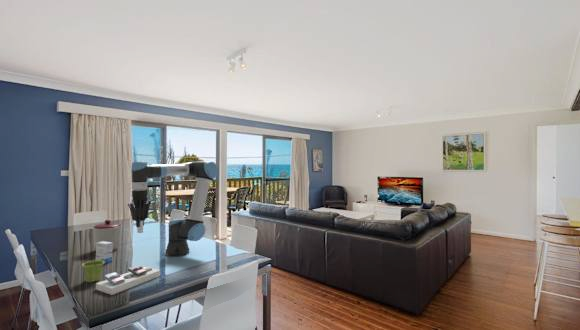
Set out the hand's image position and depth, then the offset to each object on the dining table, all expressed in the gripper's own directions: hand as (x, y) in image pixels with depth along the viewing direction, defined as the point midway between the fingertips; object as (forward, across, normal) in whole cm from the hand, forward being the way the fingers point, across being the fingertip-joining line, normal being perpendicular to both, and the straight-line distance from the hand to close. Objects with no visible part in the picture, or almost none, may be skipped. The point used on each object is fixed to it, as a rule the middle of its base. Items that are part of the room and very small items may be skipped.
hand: (140, 232), depth 156 cm
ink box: (+23, +3, +36) cm, 43 cm away
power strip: (+22, -11, -6) cm, 26 cm away
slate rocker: (+19, -19, -6) cm, 27 cm away
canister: (+23, +20, +59) cm, 66 cm away
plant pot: (+22, -18, +13) cm, 31 cm away
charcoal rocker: (+19, -7, -6) cm, 21 cm away
